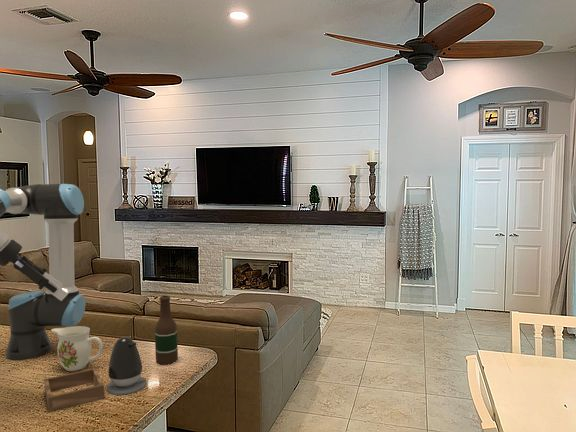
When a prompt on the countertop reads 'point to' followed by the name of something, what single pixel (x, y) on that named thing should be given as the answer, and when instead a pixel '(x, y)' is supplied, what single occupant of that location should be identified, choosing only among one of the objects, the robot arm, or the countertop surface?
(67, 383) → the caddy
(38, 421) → the countertop surface
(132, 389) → the coaster
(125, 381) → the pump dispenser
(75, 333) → the pitcher
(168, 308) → the beer bottle
